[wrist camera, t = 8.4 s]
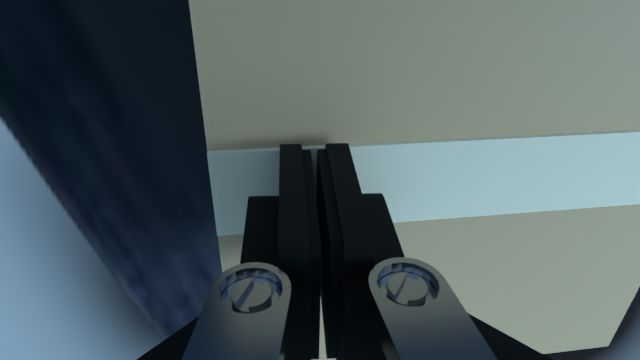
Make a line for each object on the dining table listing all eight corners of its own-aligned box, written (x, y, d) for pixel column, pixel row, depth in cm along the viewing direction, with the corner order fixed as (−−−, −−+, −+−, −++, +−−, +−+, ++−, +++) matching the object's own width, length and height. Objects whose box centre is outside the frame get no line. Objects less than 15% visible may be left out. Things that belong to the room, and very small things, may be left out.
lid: (850, -184, 10) (899, -191, 9) (595, 331, 18) (611, 349, 17) (165, -225, 8) (157, -239, 7) (237, 373, 16) (237, 395, 15)
